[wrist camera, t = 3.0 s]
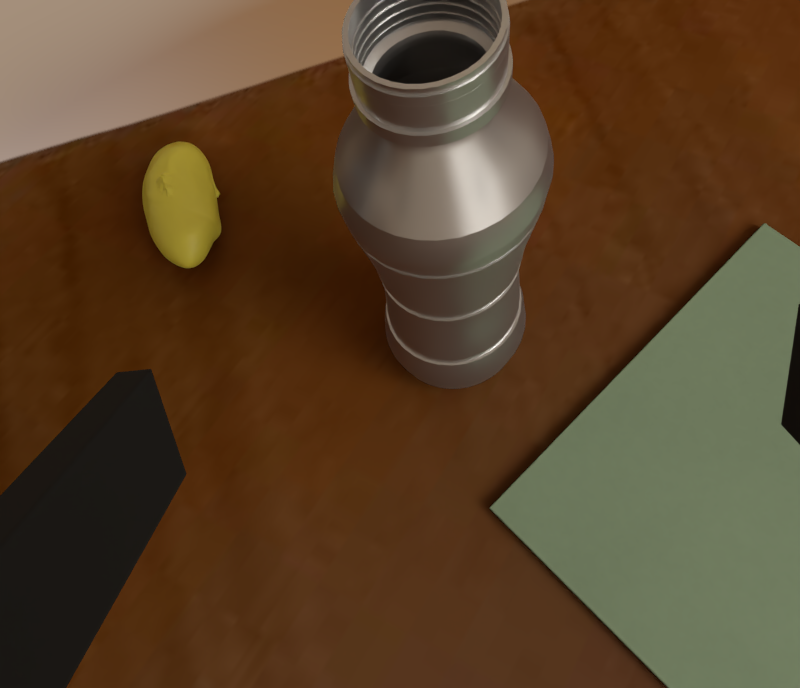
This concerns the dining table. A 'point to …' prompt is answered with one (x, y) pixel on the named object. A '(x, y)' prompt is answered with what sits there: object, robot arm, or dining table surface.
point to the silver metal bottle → (442, 179)
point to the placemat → (687, 487)
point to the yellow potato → (181, 204)
